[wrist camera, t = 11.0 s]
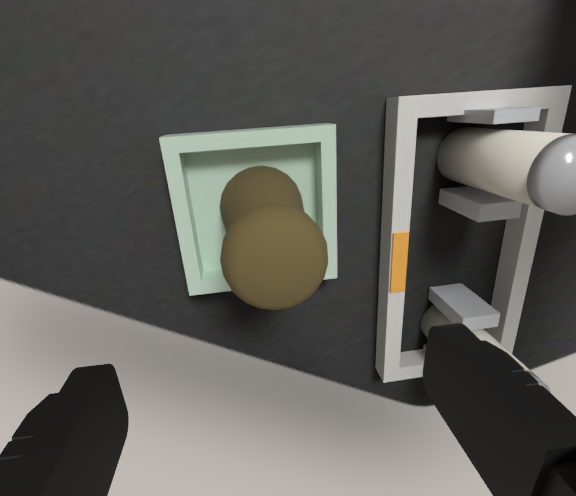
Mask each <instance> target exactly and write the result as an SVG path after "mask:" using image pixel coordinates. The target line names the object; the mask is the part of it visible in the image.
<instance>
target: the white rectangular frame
mask: <svg viewBox="0 0 576 496" xmlns="http://www.w3.org/2000/svg"><path fill="white" fill-rule="evenodd" d="M571 88H572V85H565V86H550V87H535V88H520V89H505V90H490V91H475V92H460V93H445V94H430V95H415V96H400V97H387V99H386V123H385V147H384V171H383V195H382V220H381V244H380V268H379V292H378V316H377V340H376V364H375V368H376V370H377V372H378V374H379V375H380V377H381V379H382V381H383V383H385V382H392V381H398V380H405V379H411V378H418V377H423V365H424V358H425V352H426V345H427V344H425V345H424V346H423V349H420V350H413V351H406V352H400V350H401V337H402V323H403V310H404V296H405V283H406V270H407V256H408V243H409V229H410V215H411V202H412V188H413V175H414V161H415V148H416V134H417V121H418V118H426V117H439V116H447V122H463V123H479V124H504V123H517V122H524V127H523V131H538V132H554V133H562V128H563V124H564V119H565V115H566V111H567V106H568V102H569V97H570V93H571ZM438 204H440V205H442V206H444V207H447V208H449V209H451V210H453V211H455V212H457V213H459V214H461V215H464V216H466V217H468V218H470V219H472V220H474V221H476V222H486V221H495V220H504V219H507V220H506V225H505V231H504V236H503V242H502V247H501V253H500V258H499V264H498V269H497V274H496V280H495V285H494V291H493V296H492V302H491V306H490V305H489V304H488V303H486V302H485V301H484V300H482V299H481V298H480V297H479V296H477V295H476V294H475V293H473V292H472V291H471V290H470V289H468V288H467V287H466V286H464V285H463V284H462V283H459V284H451V285H443V286H435V287H430V288H429V298H428V299H429V300H430V301H431V302H432V303H433V304H434V305H435V306H436V307H437V308H438V309H439V310H440V311H441V312H442V313H443V314H444V315H445V316H446V317H447V318H448V319H449V320H450V321H451V322H452V323H453V324H455V323H462V324H464V325H465V326H467V327H468V328H469V329H470V330H478V329H485V328H487V329H486V331H487V332H488V333H489V334H490V335H491V336H492V337H493V338H494V339H496V340H497V341H498V342H499V343H500V344H501V345H502V346H503V347H505V348H506V349H507V350H508V351H509V352H510V353H511V354H512V352H513V347H514V343H515V339H516V334H517V330H518V325H519V321H520V316H521V312H522V307H523V303H524V298H525V294H526V289H527V285H528V280H529V276H530V271H531V267H532V263H533V258H534V254H535V249H536V245H537V240H538V236H539V231H540V227H541V222H542V218H543V213H544V210H543V209H540V208H537V207H534V206H531V205H528V204H524V203H521V202H518V201H515V200H512V199H509V198H506V197H502V196H499V195H496V194H493V193H490V192H487V191H483V190H480V189H477V188H474V187H471V186H464V187H453V188H443V189H440V192H439V202H438Z"/></svg>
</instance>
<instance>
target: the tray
mask: <svg viewBox="0 0 576 496" xmlns="http://www.w3.org/2000/svg"><path fill="white" fill-rule="evenodd" d="M159 140H160V146H161V151H162V156H163V161H164V166H165V171H166V177H167V182H168V187H169V192H170V197H171V203H172V208H173V213H174V218H175V223H176V228H177V234H178V239H179V244H180V249H181V254H182V260H183V265H184V270H185V275H186V280H187V286H188V291H189V296H192V295H200V294H209V293H217V292H225V291H232V290H231V288H230V286H229V285H228V283H227V282H226V280H225V278H224V276H223V272H222V268H221V263H220V256H221V250H222V243H223V239H224V237H225V235H226V230H225V227H224V224H223V221H222V217H221V212H220V201H221V194H222V192H223V190H224V188H225V186H226V184H227V182H228V181H229V180H231V179H232V178H233V177H234V176H235V175H236V174H237V173H238V172H240V171H242V170H245V169H247V168H249V167H255V166H262V165H263V166H268V167H274V168H277V169H279V170H280V171H282V172H284V173H286V174H288V176H289V177H290V178H291V179H292V180H293V181H294V182H295V183H296V185H297V187H298V189H299V191H300V194H301V197H302V202H303V207H304V212H305V213H306V214H308V215H309V216H310V217H311V219H312V220H313V221H314V222H315V223H316V224H317V225H318V226H319V227H320V229H321V231H322V233H323V235H324V238H325V240H326V242H327V251H328V266H327V270H326V273H325V277H324V279H323V280H325V279H333V278H337V192H336V124H330V123H320V124H307V125H293V126H279V127H266V128H252V129H238V130H224V131H211V132H197V133H183V134H170V135H164V136H162V137H159Z"/></svg>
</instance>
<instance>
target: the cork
mask: <svg viewBox="0 0 576 496" xmlns="http://www.w3.org/2000/svg"><path fill="white" fill-rule="evenodd" d="M220 212H221V217H222V221H223V224H224V227H225V230H226V235H225V237H224V239H223V243H222V250H221V256H220V263H221V268H222V272H223V276H224V278H225V280H226V282H227V283H228V285H229V286H230V288H231V290H232V291H233V293H234V294H235V295H237V296H238V297H239V298H240V299H241V300H243V301H244V302H245V303H247V304H250V305H252V306H255V307H257V308H260V309H270V310H280V309H286V308H291V307H293V306H295V305H297V304H299V303H301V302H303V301H305V300H306V299H307V298H308V297H309V296H310V295H312V294H313V293H314V292H315V291H316V290H317V288H318V287H319V285H320V284H321V282H322V281H323V279H324V277H325V273H326V270H327V266H328V251H327V242H326V240H325V238H324V235H323V233H322V231H321V229H320V227H319V226H318V225H317V224H316V223H315V222H314V221H313V220H312V219H311V217H310V216H309V215H308V214H306V213H305V212H304V207H303V202H302V197H301V194H300V191H299V189H298V187H297V185H296V183H295V182H294V181H293V180H292V179H291V178H290V177H289V176H288V174H286V173H284V172H282V171H280V170H279V169H277V168H274V167H268V166H263V165H262V166H255V167H249V168H247V169H245V170H242V171H240V172H238V173H237V174H236V175H235V176H234V177H233V178H232V179H231V180H229V181H228V182H227V184H226V186H225V188H224V190H223V192H222V194H221V201H220Z"/></svg>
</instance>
